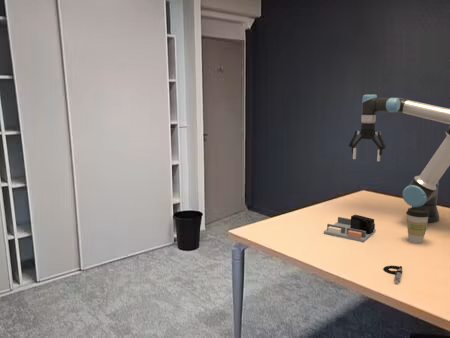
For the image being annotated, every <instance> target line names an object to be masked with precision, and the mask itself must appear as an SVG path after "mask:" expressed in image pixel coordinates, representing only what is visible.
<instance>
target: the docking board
mask: <svg viewBox="0 0 450 338" xmlns="http://www.w3.org/2000/svg"><path fill="white" fill-rule="evenodd" d="M326 226H327V227H326V228H327V229H325V230H324V231H323V234H324V235H328V236H333V237H338V238H341V239H347V240H351V241H356V242H361V243H365V242H366V241H368V239H369V238H371V236H373V235H374V234H375V233H376V231H377V229H376V223H375V222H374V231H373V233H371V234H366V231H362V230H357V229H352V228H350V226H351V218H346V217H342V216H339V217H337V222H336V223H334V224H331V223H327V225H326Z"/></svg>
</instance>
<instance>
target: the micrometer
mask: <svg viewBox="0 0 450 338" xmlns="http://www.w3.org/2000/svg"><path fill="white" fill-rule="evenodd" d="M390 269H394V270H390ZM382 270H383V271H384V272H385V273H387V274H389V275H394V278H393V281H394V284H396V285H398V284H399V283H400V282H401V279H402V275H403V266H401V265H400V266H399V265H386V266H384V267H383V268H382Z"/></svg>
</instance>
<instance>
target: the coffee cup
mask: <svg viewBox="0 0 450 338" xmlns="http://www.w3.org/2000/svg"><path fill="white" fill-rule="evenodd" d="M429 216H430V214H429V212H428V210H426V209H422V208H411V207H409V208H408V209H407V210H406V225H407V226H406V227H407V234H408V235H407V239H408V241H409V242H411V243H414V244H422V243H423V242H424V238H425V235H426V231H427V226H428V223H429V222H428V217H429Z"/></svg>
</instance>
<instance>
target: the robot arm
mask: <svg viewBox="0 0 450 338" xmlns="http://www.w3.org/2000/svg"><path fill="white" fill-rule="evenodd" d="M377 113H400V114H406V115H408V116H409V115H410V116H414V117H418V118H422V119H425V120H431V121H434V122H438V123H442V124H448V125H449V126H448V128H447V129H446V130H445V135H446V137H445V138H444V140H443V141H442V143H441V144H440V145H439V147H438V148H437V149H436V151H435V152H434V154H433V155H432V157H431V158H430V160H428V161H429V162H428V163H427V164H426V166H425V167H424V169H423V170H422V172H421V173H420V174H419V175H415V176H414V178H413V179H412V180H411V182H410V183H409V185H407V186H406V187H405V188H404V189H403V190H402V198H403V201H404V202H405V204H407V205H409V206H410V208H422V209H426V210H428V212H429V214H430V216H429V217H428V223H437V222H439V221H440V213H439V211H438V207H437V206H438V205H437V204H438V203H437V202H438V194H439V186H440V185H439V183H440V182H439V181H440V180H441V178H442V177H443V175H444V174H445V173H446V171H447V169H449V167H450V108H449V107H448V108H447V107H443V106H439V105H438V106H437V105H433V104H428V103H423V102H421V101H420V102H419V101H416V100H415V101H414V100H410V99H406V98H402V97H399V96H398V97H378V95H377V94H364V95H363V96H362V101H361V117H360V118H361V123H360V131H359V130H354V134H353V136H352V138H351V140H350V142H349V144H348V147H350V148H351V154H352V159H353V160H356V159H357V145H358V144H359V143H360V142H361V141H363V139H364V140H371V141H372V142H373V143H374V144H375V146H377V148H378V149H377V158H376V162H381V156H383V150H385V149H386V148H387V145H386V144H385V140H384V139H383V136H382V132H381V131H376V117H377ZM359 135H360V137H359V138H358V136H359ZM376 136H377V138H378V140H379V141H378V140H377V138H376ZM357 138H358V139H357Z"/></svg>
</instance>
